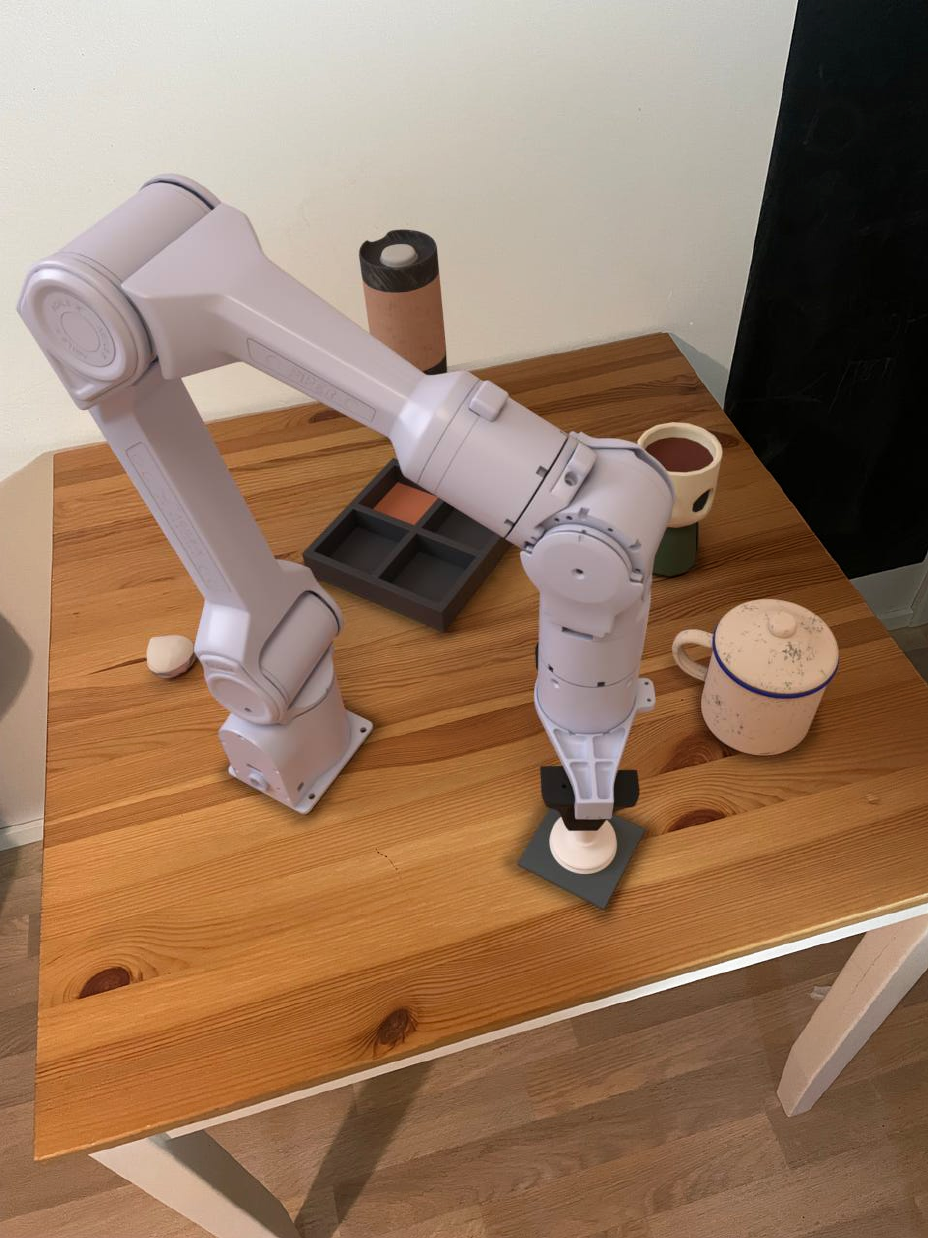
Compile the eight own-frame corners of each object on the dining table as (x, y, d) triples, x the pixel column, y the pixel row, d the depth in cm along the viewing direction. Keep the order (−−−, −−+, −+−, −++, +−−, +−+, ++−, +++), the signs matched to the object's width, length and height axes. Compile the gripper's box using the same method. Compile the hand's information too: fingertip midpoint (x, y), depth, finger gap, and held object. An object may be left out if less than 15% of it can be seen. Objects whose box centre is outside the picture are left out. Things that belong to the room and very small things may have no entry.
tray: (444, 632, 82) (442, 612, 80) (307, 573, 88) (301, 553, 86) (526, 526, 91) (526, 504, 88) (395, 478, 96) (392, 457, 94)
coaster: (604, 910, 65) (604, 908, 65) (517, 865, 68) (517, 863, 67) (644, 831, 69) (645, 829, 69) (560, 791, 71) (560, 789, 71)
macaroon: (168, 691, 80) (159, 673, 78) (135, 661, 82) (126, 643, 80) (208, 661, 82) (200, 643, 80) (175, 633, 84) (166, 615, 82)
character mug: (686, 606, 83) (708, 499, 73) (609, 587, 85) (620, 480, 75) (712, 526, 89) (735, 417, 79) (640, 510, 91) (653, 401, 81)
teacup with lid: (824, 689, 76) (862, 596, 67) (797, 777, 71) (834, 688, 62) (683, 643, 80) (701, 549, 71) (647, 723, 75) (663, 632, 66)
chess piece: (617, 815, 69) (627, 743, 62) (616, 877, 66) (627, 809, 59) (551, 810, 70) (554, 738, 62) (547, 871, 67) (549, 803, 59)
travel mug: (445, 443, 99) (429, 270, 84) (376, 439, 101) (348, 267, 85) (456, 400, 104) (444, 229, 89) (390, 397, 105) (367, 227, 90)
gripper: (681, 758, 46) (652, 876, 56) (648, 550, 55) (628, 683, 66) (539, 760, 46) (536, 876, 57) (530, 553, 56) (529, 685, 66)
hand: (579, 773), depth 61 cm, fingers open, 7 cm apart
